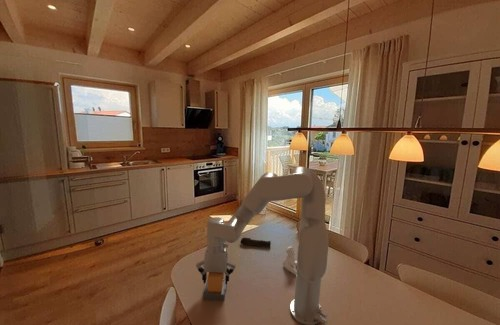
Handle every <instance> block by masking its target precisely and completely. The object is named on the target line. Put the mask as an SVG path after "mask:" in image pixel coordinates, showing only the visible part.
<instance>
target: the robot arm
mask: <svg viewBox="0 0 500 325" xmlns="http://www.w3.org/2000/svg"><path fill="white" fill-rule="evenodd" d="M300 198H301V211H300V214H301V215H300V220H299V221H300V222H299V230H298V234H299V235H298V246H297V260H296V261H297V266H296V270H297V272H296V275H295V286H294V297H293V300H291V302H290V304H289V311H290V314H291V316H292V317H293V319H295V321H297V322H298V323H300V324H302V325H315V324H316V325H318V324H319V323H321V324H322V325H327V324H328V320H327V317H328V314H326V313H325V312H323V311H322V305H321V304H319V303H320V295H321V294H320V293H321V284H322V278H323V277H324V275H325V274H326V272H327V266H328V256H329V234H328V229H327V226H326V225H327V224H326V192H325V187H324V183H323V182H322V180H321V179H320V177H319V176H318V174H316V173H315V172H314V171H313V170H312V169H310V168H308V167H305V166H296V167H294V168H293V169H292V170H291V171H290V173H289V174H285V175H278V174H276V173H274V172H264V173H263V174H262V175H261V176H260V177H259V178H258V180H257V181H256V183H255V184H254V185H253V186H252V188H251V189H250V191H249V192H248V193H247V194H246V195H245V197H244V198H243V200H242V203H241V204H240V205H239V207H238V208H237V209H236V211H235V212H234V214H233V215H232V216H231V217H230V218H229V220H228V221H227V222H226V223H225V220H224V219H223V218H222V217H216V216H215V217H210V218H209V219H208V220H207V222H206V247H205V251H204V258H203V260H201V261H198V262H196V264H195V267H196V269H197V270H198V272H199V273H200V274H201V279H202V283H203V284H205V285H206V283H207V280H208V274H207V273H209V272H224V275H225V276H224V278H225V284H227V285H228V282H230V275H232V273H233V272H234V271H235V269H236V266H237V265H236V264H235V263H233V262H231V261H229V259H228V258H229V255H228V250H227V248H229V244H228V243H231V244H232V243H236V242H237V241H238V240H239V239H240V237H241V236H242V233H243V231H244V230H245V228H246V226H247V225H248V224H249V223H250V221H251V220H252V219H253V218H254V217H255V216H256V215H257V214H261V212H263V211H264V209H265V208H266V207H267V205H268V204H269V202H277V201H286V200H294V199H300ZM202 266H203V267H202ZM229 267H230V268H229ZM317 323H318V324H317Z"/></svg>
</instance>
